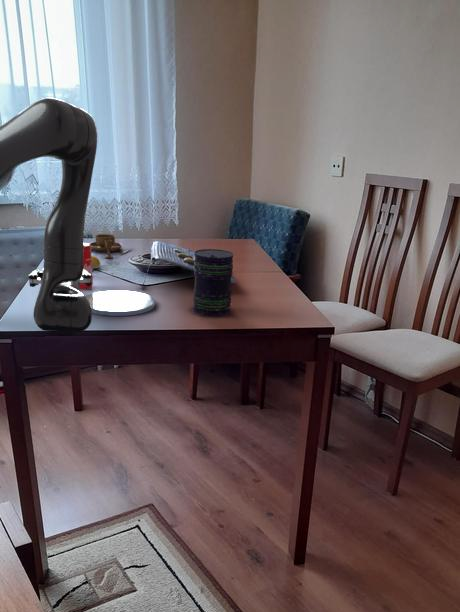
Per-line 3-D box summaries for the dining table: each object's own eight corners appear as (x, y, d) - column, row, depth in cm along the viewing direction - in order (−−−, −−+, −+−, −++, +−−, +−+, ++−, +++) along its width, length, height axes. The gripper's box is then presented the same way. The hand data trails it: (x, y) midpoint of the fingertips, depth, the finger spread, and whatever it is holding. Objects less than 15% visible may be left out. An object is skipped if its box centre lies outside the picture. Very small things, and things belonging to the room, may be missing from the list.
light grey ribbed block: (140, 265, 196) (149, 232, 192) (213, 287, 203) (223, 256, 200) (141, 291, 156) (152, 251, 152) (232, 318, 163) (244, 280, 159)
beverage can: (87, 284, 162) (84, 242, 156) (96, 288, 158) (93, 245, 153) (71, 286, 158) (67, 243, 153) (80, 290, 155) (76, 247, 150)
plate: (92, 319, 134) (92, 314, 133) (72, 298, 149) (72, 293, 148) (165, 311, 142) (165, 307, 142) (140, 292, 157) (140, 288, 156)
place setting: (134, 248, 209) (134, 232, 207) (112, 259, 192) (111, 241, 189) (91, 244, 213) (90, 228, 210) (66, 254, 195) (64, 236, 192)
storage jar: (196, 304, 149) (197, 247, 143) (232, 307, 149) (235, 250, 142) (190, 315, 141) (191, 255, 134) (228, 318, 140) (231, 258, 133)
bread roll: (105, 267, 181) (104, 254, 180) (86, 272, 174) (85, 259, 172) (85, 263, 185) (84, 251, 183) (66, 268, 178) (65, 255, 176)
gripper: (94, 271, 119) (89, 254, 134) (24, 272, 115) (26, 254, 130) (96, 305, 123) (91, 284, 137) (28, 307, 119) (30, 285, 133)
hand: (59, 270), depth 133 cm, fingers closed on sponge, 5 cm apart
